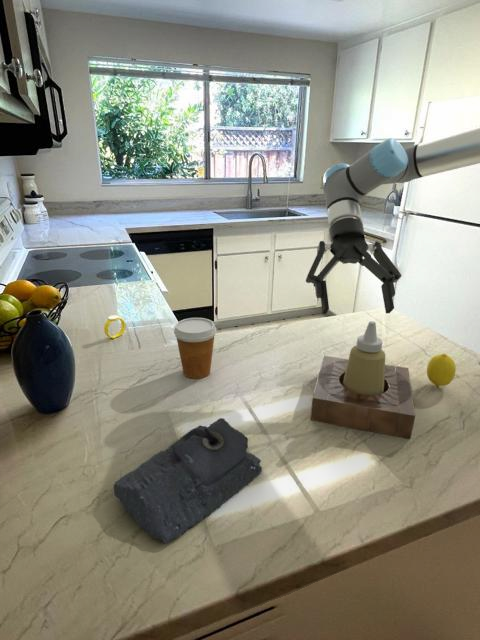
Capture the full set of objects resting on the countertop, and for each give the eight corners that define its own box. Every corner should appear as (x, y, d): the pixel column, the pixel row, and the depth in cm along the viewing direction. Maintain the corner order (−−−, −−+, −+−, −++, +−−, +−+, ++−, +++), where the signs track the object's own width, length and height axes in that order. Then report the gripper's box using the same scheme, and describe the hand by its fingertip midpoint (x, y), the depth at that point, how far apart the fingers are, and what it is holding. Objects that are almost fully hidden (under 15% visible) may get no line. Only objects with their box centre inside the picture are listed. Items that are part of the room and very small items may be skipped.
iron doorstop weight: (100, 491, 61) (96, 466, 59) (208, 425, 76) (207, 404, 74) (161, 556, 51) (159, 528, 49) (271, 466, 66) (272, 442, 64)
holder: (405, 387, 88) (408, 367, 86) (411, 439, 72) (416, 416, 70) (321, 374, 93) (323, 355, 92) (309, 420, 77) (311, 398, 75)
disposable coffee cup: (177, 384, 89) (174, 335, 84) (175, 364, 97) (172, 318, 93) (220, 380, 91) (219, 332, 86) (214, 360, 99) (213, 315, 95)
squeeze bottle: (357, 418, 78) (370, 334, 71) (332, 396, 85) (341, 318, 78) (389, 408, 81) (404, 326, 74) (363, 388, 88) (374, 312, 81)
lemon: (446, 396, 85) (454, 362, 82) (420, 386, 89) (426, 354, 86) (454, 385, 89) (462, 353, 86) (428, 377, 93) (435, 345, 90)
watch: (121, 331, 115) (119, 312, 112) (128, 334, 113) (125, 314, 111) (104, 338, 110) (101, 318, 108) (110, 341, 109) (107, 321, 106)
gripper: (392, 235, 96) (409, 317, 88) (289, 235, 95) (295, 318, 87) (405, 216, 89) (424, 303, 81) (294, 215, 88) (301, 303, 80)
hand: (358, 311), depth 84 cm, fingers open, 13 cm apart
